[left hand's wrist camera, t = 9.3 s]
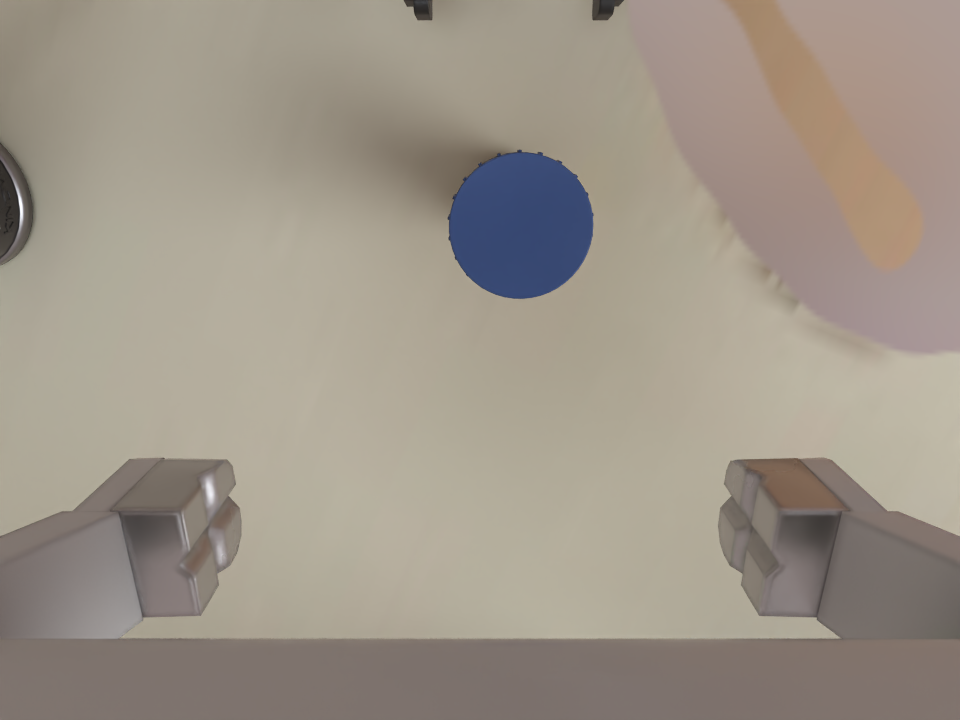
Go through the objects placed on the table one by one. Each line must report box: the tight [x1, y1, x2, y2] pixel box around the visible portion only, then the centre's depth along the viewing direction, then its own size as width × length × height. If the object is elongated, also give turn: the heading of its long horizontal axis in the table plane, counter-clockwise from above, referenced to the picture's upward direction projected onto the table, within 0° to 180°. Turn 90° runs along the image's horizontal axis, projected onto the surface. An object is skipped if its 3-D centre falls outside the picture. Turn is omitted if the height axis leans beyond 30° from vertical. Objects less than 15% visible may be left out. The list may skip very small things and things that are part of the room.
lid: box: [448, 150, 593, 299], centre depth 23 cm, size 5×5×2 cm
